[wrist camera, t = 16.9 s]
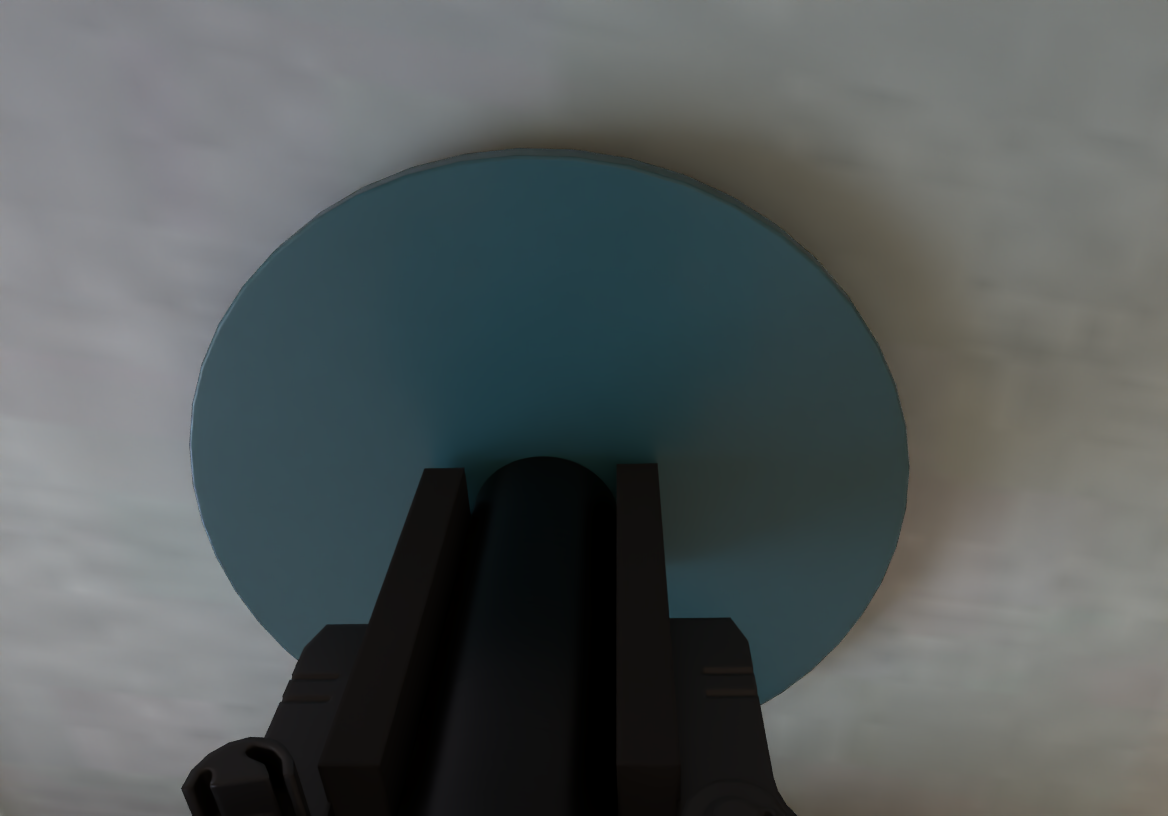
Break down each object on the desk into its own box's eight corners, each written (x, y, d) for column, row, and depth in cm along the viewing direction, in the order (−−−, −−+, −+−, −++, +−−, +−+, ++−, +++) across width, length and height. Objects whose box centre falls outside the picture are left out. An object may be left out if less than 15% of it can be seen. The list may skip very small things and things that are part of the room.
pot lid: (124, 155, 15) (-464, 422, 7) (941, 121, 14) (1375, 373, 6) (293, 717, 21) (99, 1189, 13) (854, 714, 21) (1004, 1209, 13)
